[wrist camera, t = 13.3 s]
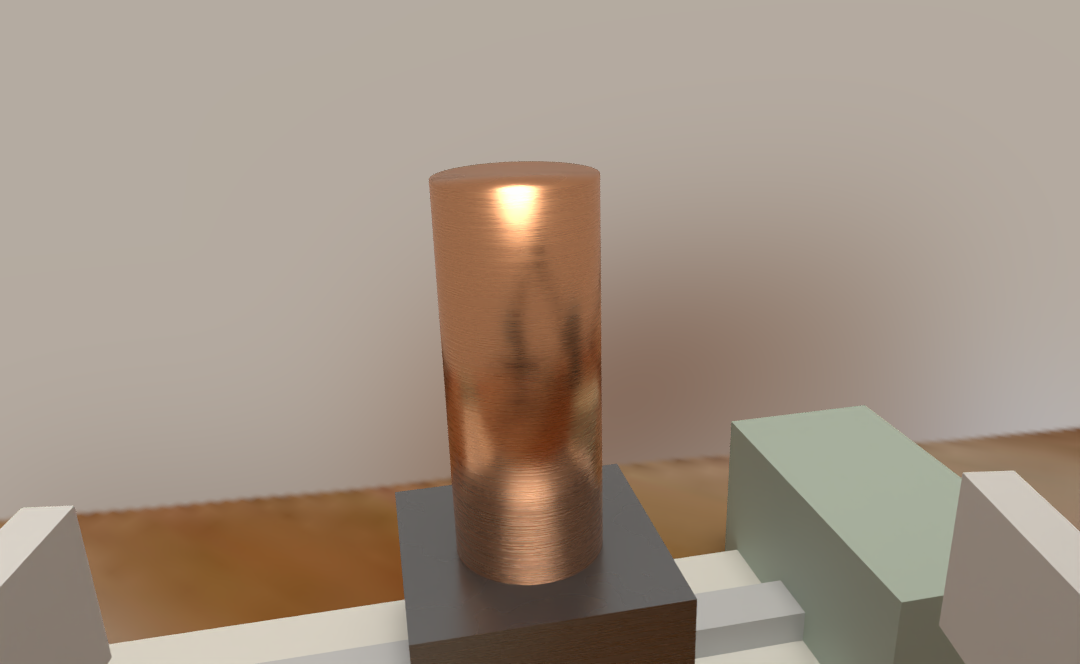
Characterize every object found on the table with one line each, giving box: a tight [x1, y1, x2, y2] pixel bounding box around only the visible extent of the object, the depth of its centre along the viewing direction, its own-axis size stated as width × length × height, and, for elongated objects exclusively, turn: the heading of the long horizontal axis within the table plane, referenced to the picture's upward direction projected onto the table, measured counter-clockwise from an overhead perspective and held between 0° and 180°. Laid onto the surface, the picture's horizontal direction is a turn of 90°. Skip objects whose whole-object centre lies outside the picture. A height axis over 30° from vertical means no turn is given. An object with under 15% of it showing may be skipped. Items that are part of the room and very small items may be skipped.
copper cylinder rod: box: [395, 161, 697, 664], centre depth 23 cm, size 7×7×13 cm
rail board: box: [108, 405, 965, 664], centre depth 24 cm, size 37×10×6 cm, turn 101°
